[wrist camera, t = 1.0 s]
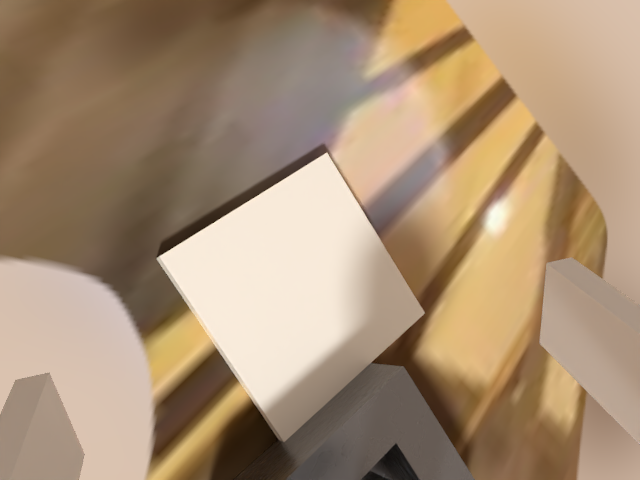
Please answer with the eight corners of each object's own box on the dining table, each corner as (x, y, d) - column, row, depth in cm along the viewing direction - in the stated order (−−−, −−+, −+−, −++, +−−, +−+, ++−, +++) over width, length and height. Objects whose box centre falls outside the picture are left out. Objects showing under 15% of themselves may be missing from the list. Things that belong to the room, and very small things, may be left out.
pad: (156, 258, 33) (159, 256, 32) (320, 156, 39) (327, 152, 38) (278, 439, 35) (284, 442, 34) (417, 313, 41) (425, 313, 40)
